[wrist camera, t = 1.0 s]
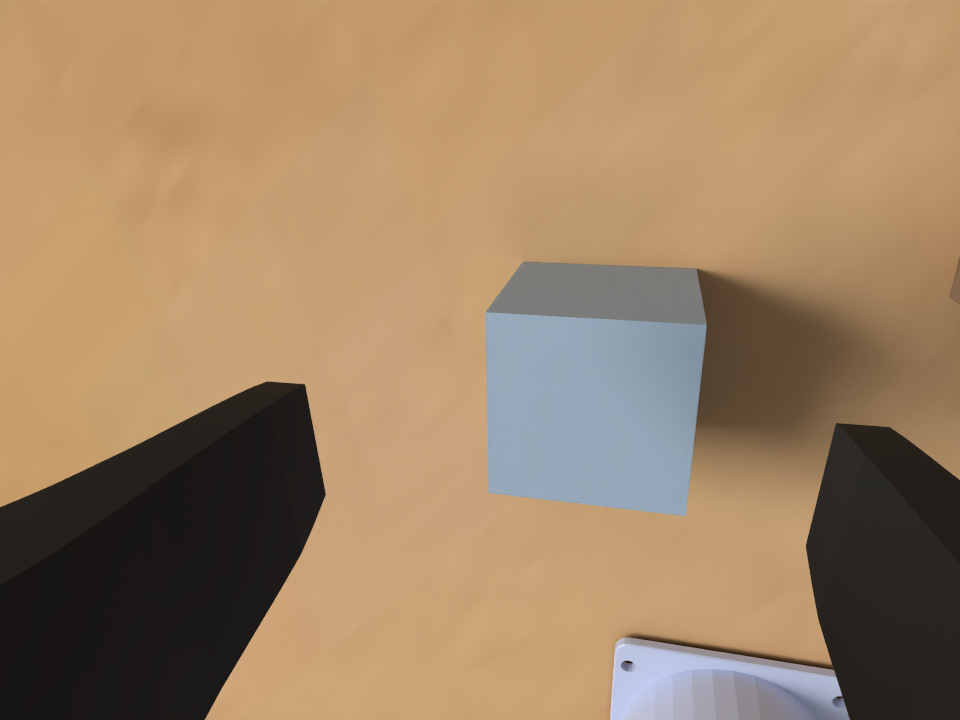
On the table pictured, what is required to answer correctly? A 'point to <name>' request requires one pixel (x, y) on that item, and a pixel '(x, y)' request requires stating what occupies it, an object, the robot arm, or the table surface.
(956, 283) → the walnut base
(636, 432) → the gray cube
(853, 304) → the table surface
